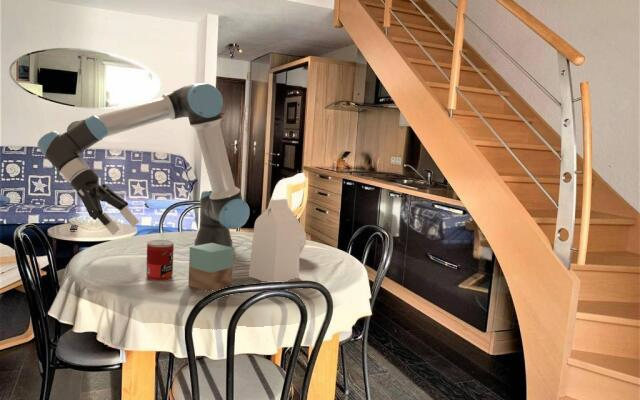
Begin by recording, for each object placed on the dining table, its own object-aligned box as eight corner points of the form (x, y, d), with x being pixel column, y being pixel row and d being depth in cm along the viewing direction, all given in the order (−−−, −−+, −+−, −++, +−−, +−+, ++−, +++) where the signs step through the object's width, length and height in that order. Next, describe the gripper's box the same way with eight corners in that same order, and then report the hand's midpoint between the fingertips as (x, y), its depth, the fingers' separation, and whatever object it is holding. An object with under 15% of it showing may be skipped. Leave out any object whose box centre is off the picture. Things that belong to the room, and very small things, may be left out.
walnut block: (210, 279, 152) (211, 261, 151) (231, 286, 147) (232, 266, 147) (188, 285, 145) (189, 266, 144) (209, 292, 140) (210, 272, 139)
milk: (274, 270, 168) (278, 196, 164) (299, 278, 160) (304, 200, 157) (248, 276, 158) (252, 197, 155) (273, 284, 151) (278, 202, 148)
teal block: (211, 261, 151) (212, 242, 150) (232, 267, 146) (233, 247, 146) (189, 266, 144) (189, 246, 143) (210, 272, 139) (211, 252, 138)
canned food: (164, 281, 146) (166, 246, 145) (141, 278, 148) (141, 243, 147) (177, 275, 154) (178, 241, 153) (154, 272, 155) (155, 238, 154)
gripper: (92, 180, 161) (135, 228, 162) (47, 187, 137) (98, 243, 138) (108, 166, 160) (151, 214, 162) (65, 170, 136) (116, 227, 137)
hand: (127, 228), depth 150 cm, fingers open, 13 cm apart
